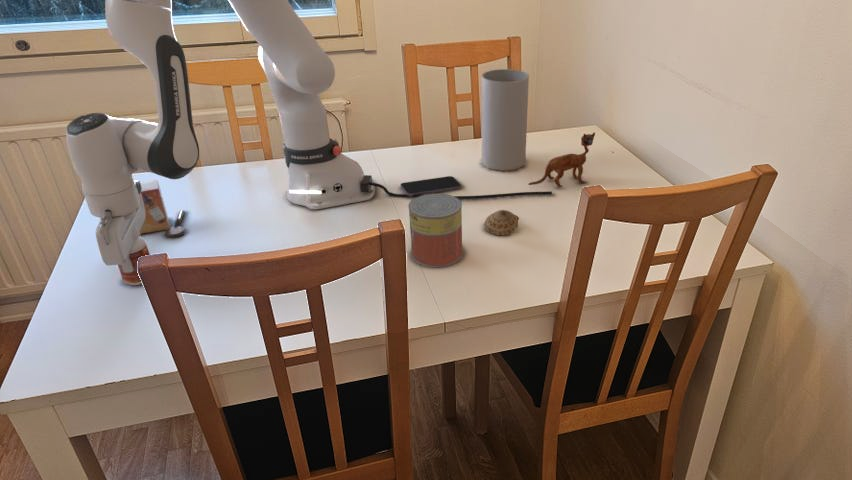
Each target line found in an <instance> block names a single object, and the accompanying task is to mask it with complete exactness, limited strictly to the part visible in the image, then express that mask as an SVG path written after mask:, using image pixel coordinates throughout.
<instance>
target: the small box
mask: <svg viewBox="0 0 852 480" xmlns="http://www.w3.org/2000/svg"><path fill="white" fill-rule="evenodd" d="M140 183H141V186H142V190H141V195H142V198H143V203H144V207H145V213H146V218H145V221H144V223H143V225H142V227H141V230H140V235H141V234H148V233H154V232H160V231H166V230H167V229H169V228H171V227H170V226H171V225H170V221H169V220H170V219H169V216H168V212H167V209H166V205H165V201H164V197H163V193H162V190H161V186H160V184H159V180H158V179H155V180H150V181H145V182H140Z"/></svg>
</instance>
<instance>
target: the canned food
mask: <svg viewBox="0 0 852 480" xmlns="http://www.w3.org/2000/svg"><path fill="white" fill-rule="evenodd" d="M454 196H455V195H451V194H448V193H441V192H436V193H429V194H424V195H422V196H419V197H414V198H413V199H412V200H410V201H409V203H408V205H407V207H408V214H409V216H408V217H409V229H410V245H411V258H412V260H413V261H414V262H415V263H417V264H419V265H421V266H424V267H427V268H428V267H429V268H443V267H447V266H451V265H454V264H455V263H457V262H459V261H460V260H461V259H462V258H463V255H464V254H463V252H464V251H463V220H462V218H463V217H462V213H463V211H462V208H463V204H462V201H461V199H458V198H456V197H454Z"/></svg>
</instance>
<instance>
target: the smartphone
mask: <svg viewBox="0 0 852 480" xmlns="http://www.w3.org/2000/svg"><path fill="white" fill-rule="evenodd" d="M461 184H462V183H461ZM461 184H460V182H459V181H458V180H457V179H456V177H454V176H452V175H451V176H450V175H448V176H442V177H434V178H427V179H420V180H413V181H407V182H406V181H405V182H402V183H400V188H401V189H402V191H403V192H404V194H407V195H408V196H413V195H414V194H424V195H426V194H434V193H442V192H447V191H448V192H449V191H454V190H455V191H456V190H460V189H461V188H462V187H461V186H462V185H461Z"/></svg>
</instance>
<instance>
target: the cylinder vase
mask: <svg viewBox="0 0 852 480" xmlns="http://www.w3.org/2000/svg"><path fill="white" fill-rule="evenodd" d="M529 81H530V74H528V73H527V72H525V71H522V70H517V69H509V68H508V69H507V68H503V69H502V68H501V69H500V68H498V69H492V70H491V69H490V70H487V71H485V72H483V73H482V75H481V163H482V164H483V166H484V167H486V168H488V169H490V170H493V171H500V172H507V171H515V170H518V169H520V168H522V167H523V166H524V165H525V164H526V157H527V154H526V153H527V132H528V106H529V104H528V103H529V83H530V82H529Z"/></svg>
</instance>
